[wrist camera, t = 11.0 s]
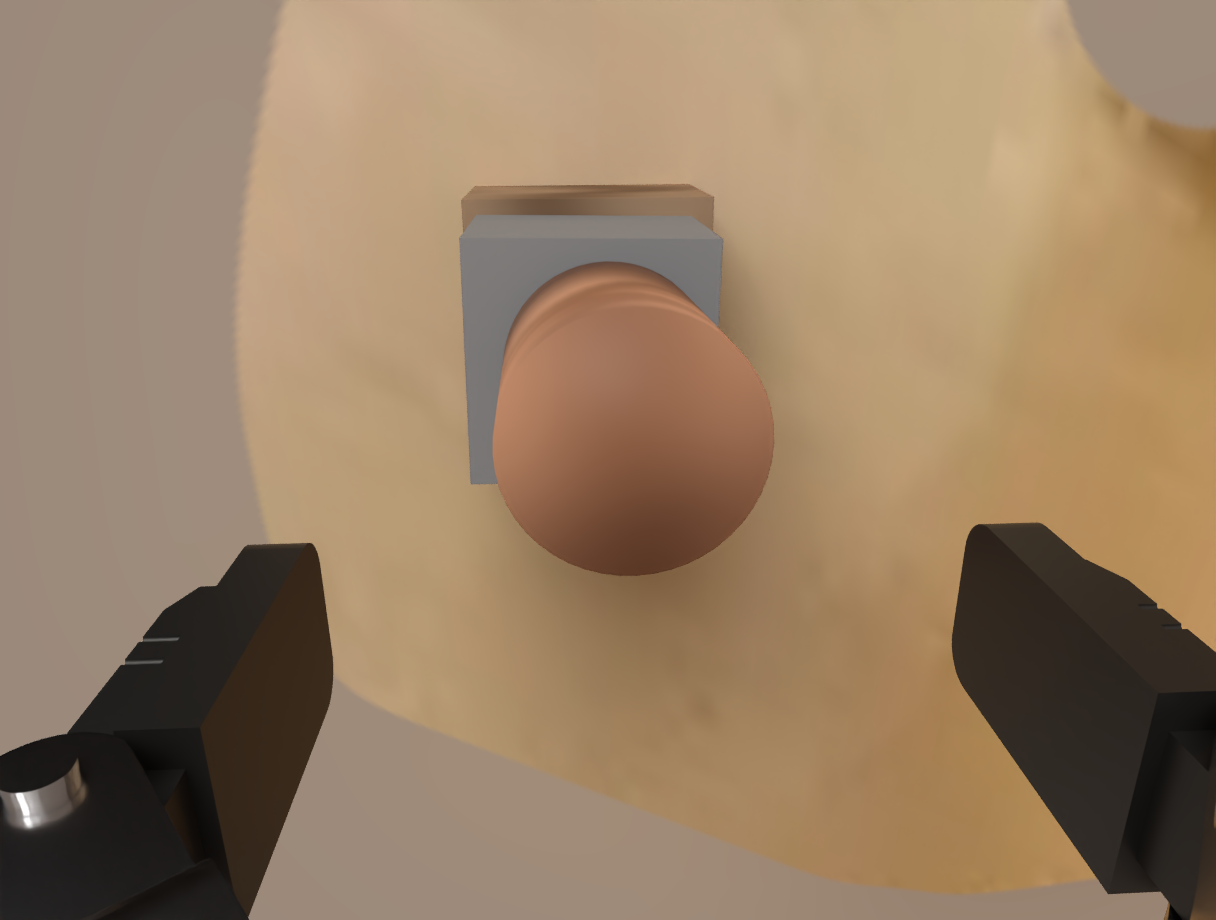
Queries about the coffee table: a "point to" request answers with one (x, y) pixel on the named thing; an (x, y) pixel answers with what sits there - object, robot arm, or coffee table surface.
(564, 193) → the tower base
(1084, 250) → the coffee table surface
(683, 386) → the brown rounded knob
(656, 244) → the tower top
